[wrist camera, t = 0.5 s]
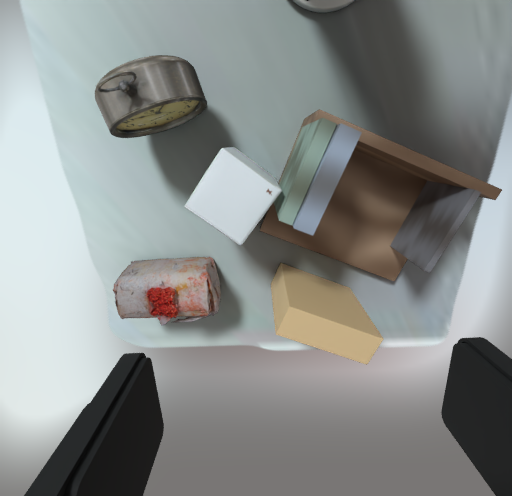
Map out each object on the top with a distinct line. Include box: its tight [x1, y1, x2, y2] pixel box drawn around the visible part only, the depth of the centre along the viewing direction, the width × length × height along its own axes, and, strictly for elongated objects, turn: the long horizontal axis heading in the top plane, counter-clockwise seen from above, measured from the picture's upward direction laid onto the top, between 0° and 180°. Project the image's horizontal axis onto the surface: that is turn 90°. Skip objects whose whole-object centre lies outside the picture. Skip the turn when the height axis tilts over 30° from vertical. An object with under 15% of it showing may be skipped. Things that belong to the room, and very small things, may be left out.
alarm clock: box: [95, 55, 207, 138], centre depth 30 cm, size 11×5×16 cm, turn 109°
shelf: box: [260, 109, 502, 281], centre depth 35 cm, size 16×22×14 cm
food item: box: [113, 257, 221, 325], centre depth 41 cm, size 14×8×10 cm, turn 94°
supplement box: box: [185, 147, 282, 245], centre depth 35 cm, size 7×7×13 cm
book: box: [271, 263, 383, 364], centre depth 40 cm, size 4×12×13 cm, turn 69°
